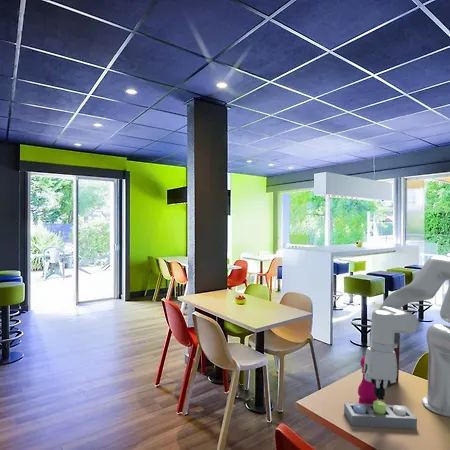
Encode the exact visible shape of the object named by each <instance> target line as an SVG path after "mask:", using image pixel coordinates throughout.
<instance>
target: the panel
mask: <svg viewBox="0 0 450 450" xmlns="http://www.w3.org/2000/svg"><path fill="white" fill-rule="evenodd" d="M354 404H358V403H357V402H356V403H354V402H344V406H343V408H344V409H343V413H344V415H345V417H346V418H347V420H348V422H349V423H350V425H351V426H352V427H369V428H388V429H389V428H391V429H411V430H412V429H413V430H417V427H418V418H417V416H415V415H414V414H413V413H412V411H410V409H409V408H408V407H407V406H406V405H398V404H397V405H398V406H402V407H404V408H405V409H406V416H400V415H395V414H394V413H393V406H395V405H396V404H386V415H378V414H375V413H374V412H373V404H362V405H364V406H365V407H366V414H355V413H354V411H353V407H354Z"/></svg>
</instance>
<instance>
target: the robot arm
mask: <svg viewBox="0 0 450 450" xmlns="http://www.w3.org/2000/svg"><path fill="white" fill-rule="evenodd" d="M445 281H448V286H447V290H446V293H445V296H444V299H443V301H442V304H441V307H440V310H439V316H440V318H441V319H442V320H443V321H445V322H447V323H449V324H450V253H447V254H444V256H443V255H442V256H441V255H435V256H431V257H429V258H428V259H427V260H426V262H425V263H424V264H423V266H422V267H421V268H420V270H419V271H418V272H417V274H416V275H415V277H414V278H413V280H412V281H411V282H410V283H409V284H407V285H404V286H402V287H400V288H399V289H397V290H395V291H393V292H391V293H390V294H388V296H387V297H386V298H385V299H384V301H383V302H382V303H381V305H380V307H379V308H378V309H376V310H374V311H372V313H371V321H370V322H371V325H370V329H371V340H370V339H369V346H367V349H366V352H365V355H364V357H365V362H364V373H366V374H365V377H364V379H365V380H366V381H369V382H372V383H373V384H374V385H375V386H374V394H375V396H376V397H377V401H381V400H382V401H383V400H384V397H385V396H386V395H385V394H386V392H385V391H386V389H387V388H388V387H387V386H388V385H389V384H390V383H395V382H396V378H397V360H396V354H395V351H394V348H397V347H398V345H397V344H395V343H394V334H395V333H400V334H402V335H403V334H405V335H409V334H413V333H415V332H416V331H417V330H418V329H419V326H420V325H419V324H420V322H419V319H418V318H417V317H416V315H414V314H413V313H410V312H408V311H406V310H403V309H401V308H403V307H404V306H406V305H407V304H410V303H414V302H415V303H416V302H422V301H427V300H432V299H433V298H434V297H435V296H436V295H437V293H438V292H439V290H440V288H442V286H443V284H444V283H445ZM425 333H426V335H425V336H426V342H427V348H428V366H427V367H428V368H427V392H426V393H427V394H426V395H427V396H424V397H423V398H422V399H421V401H422V404H423V406H424V407H425V408H426V409H427V410H429V411H431V412H433V413H435V414H438V415H440V416H444V417H449V418H450V326H449V325H447V324H446V325H445V324H443V323H442V324H441V323H434V324H432V325H430V326H429V327H428V328H427V330H426V332H425ZM379 380H380V383H379Z"/></svg>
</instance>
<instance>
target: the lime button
mask: <svg viewBox="0 0 450 450" xmlns="http://www.w3.org/2000/svg"><path fill="white" fill-rule="evenodd" d="M386 405H387V404H386V403H385V402H384V401H383V400H382V401H381V400H378V399H377V400H376V401H374V402H373V412H374V413H375V414H378V415H386Z"/></svg>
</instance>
